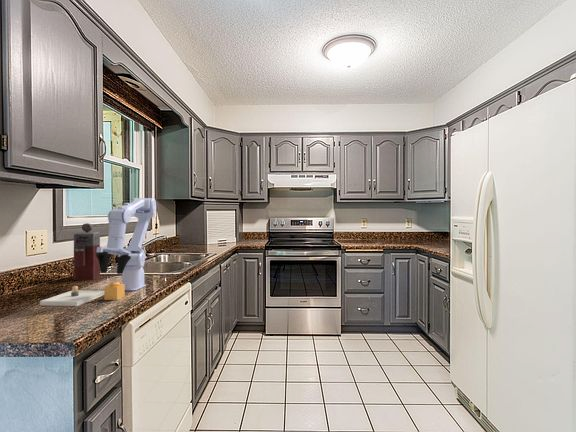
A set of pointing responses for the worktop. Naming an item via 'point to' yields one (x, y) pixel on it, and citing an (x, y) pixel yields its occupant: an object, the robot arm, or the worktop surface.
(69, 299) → the plate
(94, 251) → the glass decanter
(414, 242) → the worktop surface
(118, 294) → the orange cube with dome
